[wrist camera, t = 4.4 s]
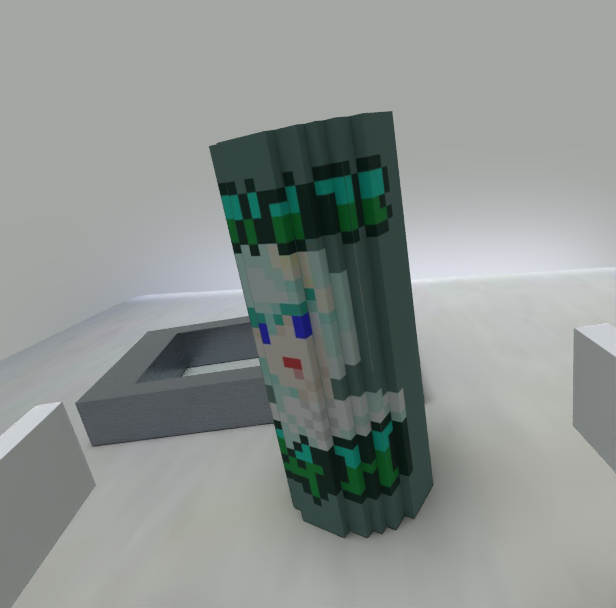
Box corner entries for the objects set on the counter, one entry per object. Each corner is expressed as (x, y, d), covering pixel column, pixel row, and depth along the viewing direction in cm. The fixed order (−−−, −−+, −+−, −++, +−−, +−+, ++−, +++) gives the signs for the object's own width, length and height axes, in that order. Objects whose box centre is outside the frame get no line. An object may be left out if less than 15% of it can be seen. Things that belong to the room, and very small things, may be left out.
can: (267, 504, 20) (176, 153, 15) (338, 427, 24) (285, 139, 19) (392, 558, 16) (323, 116, 11) (449, 456, 20) (416, 109, 16)
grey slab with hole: (396, 329, 35) (392, 293, 34) (424, 403, 25) (419, 355, 24) (158, 364, 37) (148, 331, 36) (92, 445, 27) (75, 403, 26)
